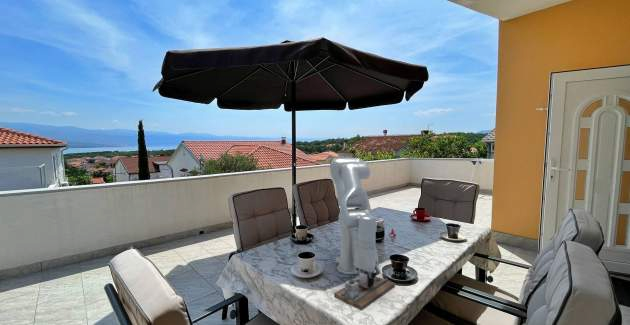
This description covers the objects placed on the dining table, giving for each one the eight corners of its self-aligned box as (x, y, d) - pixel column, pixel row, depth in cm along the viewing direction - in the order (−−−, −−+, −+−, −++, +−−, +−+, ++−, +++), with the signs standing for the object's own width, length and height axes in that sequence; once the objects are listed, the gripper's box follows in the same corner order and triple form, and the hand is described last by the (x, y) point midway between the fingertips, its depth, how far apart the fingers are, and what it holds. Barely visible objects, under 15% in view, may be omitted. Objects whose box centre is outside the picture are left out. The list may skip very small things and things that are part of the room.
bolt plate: (334, 296, 118) (334, 277, 118) (368, 276, 136) (369, 260, 136) (361, 310, 108) (361, 289, 108) (394, 286, 126) (395, 268, 126)
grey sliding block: (359, 287, 122) (359, 270, 122) (365, 283, 126) (365, 266, 125) (366, 290, 119) (367, 273, 119) (373, 286, 123) (373, 269, 123)
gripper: (346, 240, 125) (346, 280, 126) (378, 250, 113) (378, 294, 114) (356, 237, 130) (356, 275, 131) (388, 246, 118) (387, 287, 119)
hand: (366, 283), depth 122 cm, fingers closed on grey sliding block, 4 cm apart
